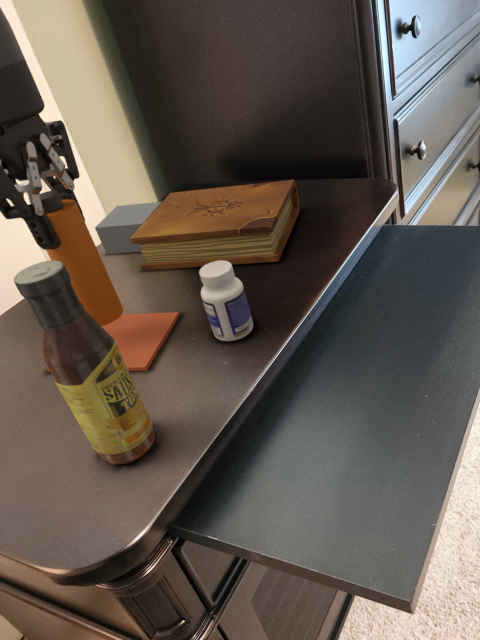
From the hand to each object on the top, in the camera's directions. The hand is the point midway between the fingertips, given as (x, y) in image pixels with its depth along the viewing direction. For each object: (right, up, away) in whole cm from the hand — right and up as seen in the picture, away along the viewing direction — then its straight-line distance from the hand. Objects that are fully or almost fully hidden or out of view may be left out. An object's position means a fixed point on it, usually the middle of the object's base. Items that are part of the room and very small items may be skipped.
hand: (64, 235), depth 60 cm
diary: (+14, +8, +29) cm, 34 cm away
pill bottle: (+18, -10, +8) cm, 22 cm away
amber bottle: (+2, -8, +7) cm, 11 cm away
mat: (+2, -11, +10) cm, 15 cm away
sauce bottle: (+9, -24, -5) cm, 26 cm away
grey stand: (-2, +10, +35) cm, 36 cm away
